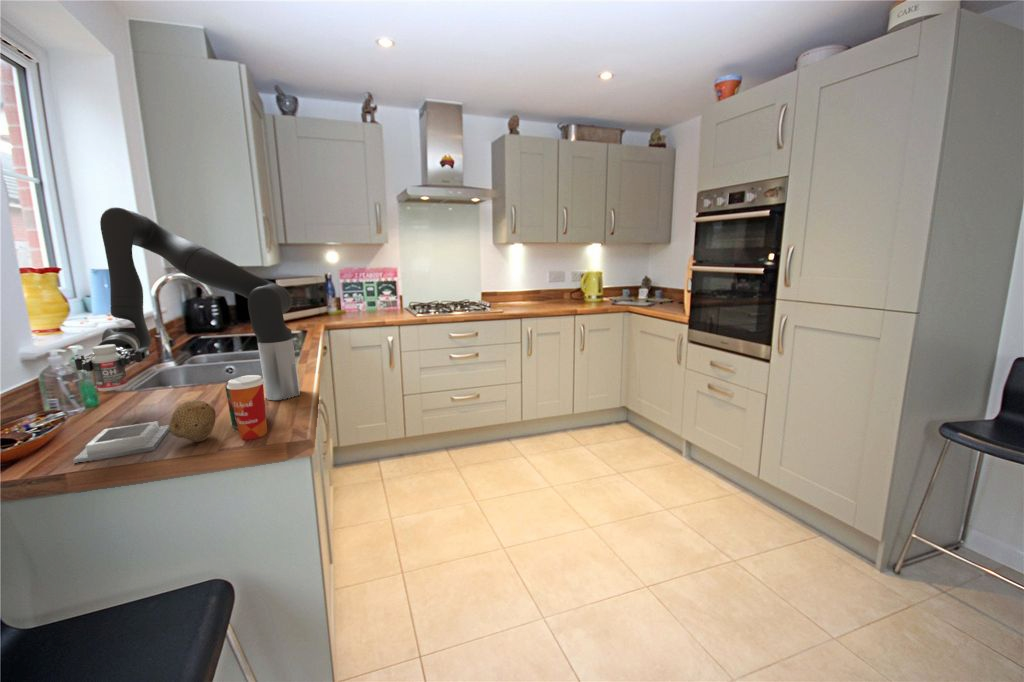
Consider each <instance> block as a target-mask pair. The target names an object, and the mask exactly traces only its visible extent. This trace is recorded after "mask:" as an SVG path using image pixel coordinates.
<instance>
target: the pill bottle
mask: <svg viewBox="0 0 1024 682" xmlns="http://www.w3.org/2000/svg"><path fill="white" fill-rule="evenodd" d="M91 348H92V353H94V354H95V357H93V358H92V359H91V364H92V368H93V370H92V371H93V376H94V379H95V384H96V388H97V391H99V392H110V391H114V390H121V389H123V388H125V387H127V386H128V385H129V381H128V377H127V372H126V367H122V365H121V360H120V357H121V356H122V355H120V354H117V353H116V351H117V348H116V345H114V344H110V345H101V346H98V345H96V346H93V347H91Z"/></svg>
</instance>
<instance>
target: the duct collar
mask: <svg viewBox="0 0 1024 682" xmlns="http://www.w3.org/2000/svg"><path fill="white" fill-rule="evenodd" d="M169 432H170V430H169V424H165V425H161V426H159V421H158V420H156V421H151V422H150V421H149V422H143V423H142V422H141V423H136V424H129V425H122V426H116V427H109V428H104V429H103V430H102V431H101V432H99V433H98V434H97V435H96V436H94V437H93V438H92V439H91V440H90V441H89V442H88V443H87V444H86V445H85V448H84V449H83V450H82V451H81V452H80V453H79V454H78V455H77V456H75V457H74V458H73V459H72V461H73V464H74V463H77V464H79V463H78V462H83V463H86V462H85V461H89V462H93V460H94V461H99V460H106V459H111V458H119V457H122V456H130V455H134V454H140V453H141V454H142V453H147V452H152V451H155V449H156V448H157V447H158V446H159V444H160V443H161V442H162V441H163V440H164V438H165V436H167V434H168V433H169Z"/></svg>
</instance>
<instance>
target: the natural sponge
mask: <svg viewBox="0 0 1024 682" xmlns="http://www.w3.org/2000/svg"><path fill="white" fill-rule="evenodd" d="M216 416H217V415H216V410H215V408H214V407H213V405H211V404H210V403H208V402H206V401H204V400H199V399H198V400H197V399H196V400H187V401H185V402H183V403H182V404H180V405H178V406H177V407H176V408H175V410H174V411H173V413H172V415H171V417H170V420H169V424H168V425H169V432H170V434H171V435H172V436H173V437H176V438H181V439H185V440H189V441H190V442H195V443H200V442H203V441H205V440H206V439H207V438H208V437H209V436H211V434H212V431H213V429H214V427H215V422H216Z"/></svg>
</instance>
